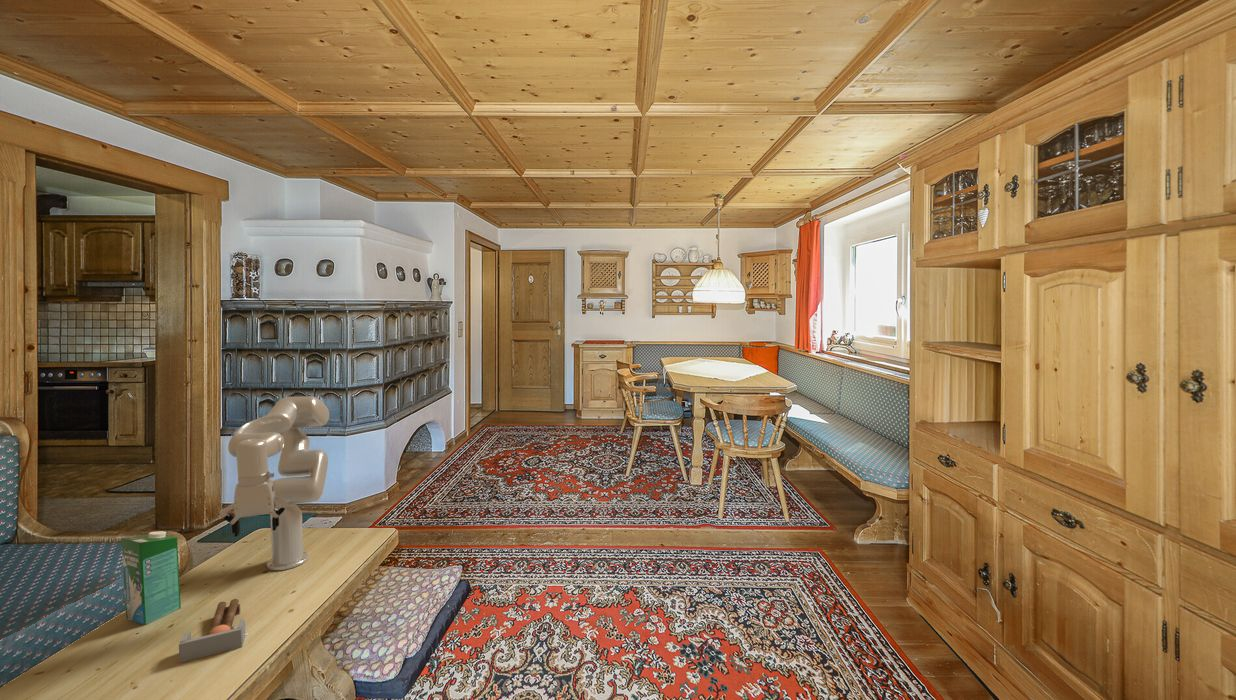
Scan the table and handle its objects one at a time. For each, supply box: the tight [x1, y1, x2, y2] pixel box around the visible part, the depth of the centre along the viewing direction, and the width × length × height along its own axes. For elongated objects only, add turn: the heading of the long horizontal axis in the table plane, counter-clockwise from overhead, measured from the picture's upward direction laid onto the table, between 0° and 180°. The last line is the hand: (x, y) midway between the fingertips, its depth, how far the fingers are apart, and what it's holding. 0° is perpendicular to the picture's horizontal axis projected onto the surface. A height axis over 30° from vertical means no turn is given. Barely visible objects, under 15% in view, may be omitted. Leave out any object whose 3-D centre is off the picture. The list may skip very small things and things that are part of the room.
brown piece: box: [207, 598, 241, 635], centre depth 140 cm, size 12×6×4 cm, turn 29°
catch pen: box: [178, 618, 247, 663], centre depth 130 cm, size 5×13×5 cm, turn 119°
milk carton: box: [121, 530, 182, 626], centre depth 144 cm, size 9×9×25 cm
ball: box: [208, 624, 231, 635], centre depth 132 cm, size 5×5×5 cm
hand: (256, 531), depth 150 cm, fingers open, 9 cm apart
